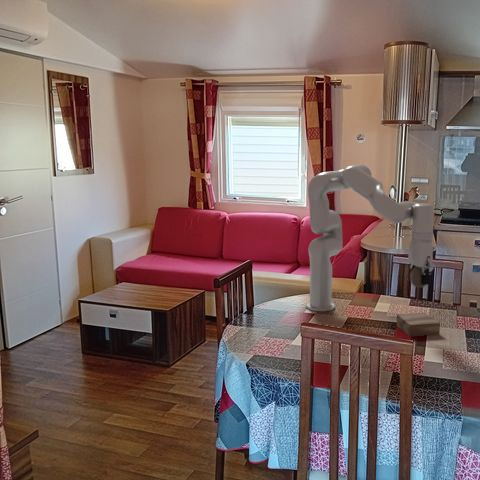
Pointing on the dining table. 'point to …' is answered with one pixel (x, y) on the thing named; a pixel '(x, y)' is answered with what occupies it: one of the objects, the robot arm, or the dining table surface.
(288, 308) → the dining table surface
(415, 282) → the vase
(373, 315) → the dining table surface
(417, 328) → the walnut block
